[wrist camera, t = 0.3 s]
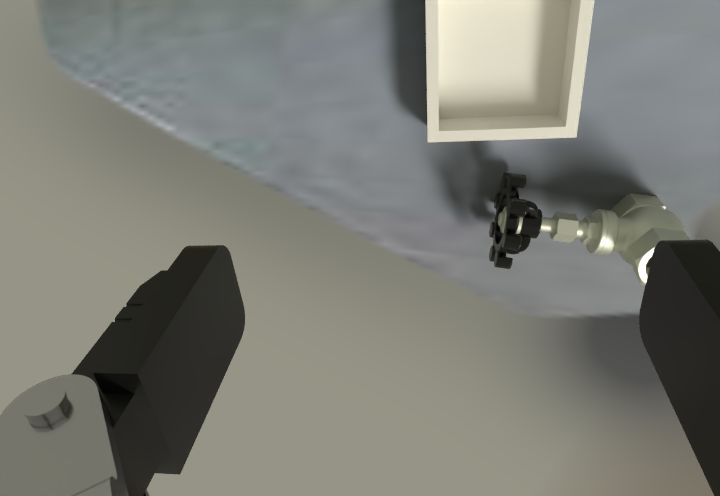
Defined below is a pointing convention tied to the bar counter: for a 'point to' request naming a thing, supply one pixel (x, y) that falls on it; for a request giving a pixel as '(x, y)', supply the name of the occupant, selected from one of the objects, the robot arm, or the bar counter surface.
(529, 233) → the valve
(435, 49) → the tray
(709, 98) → the bar counter surface
